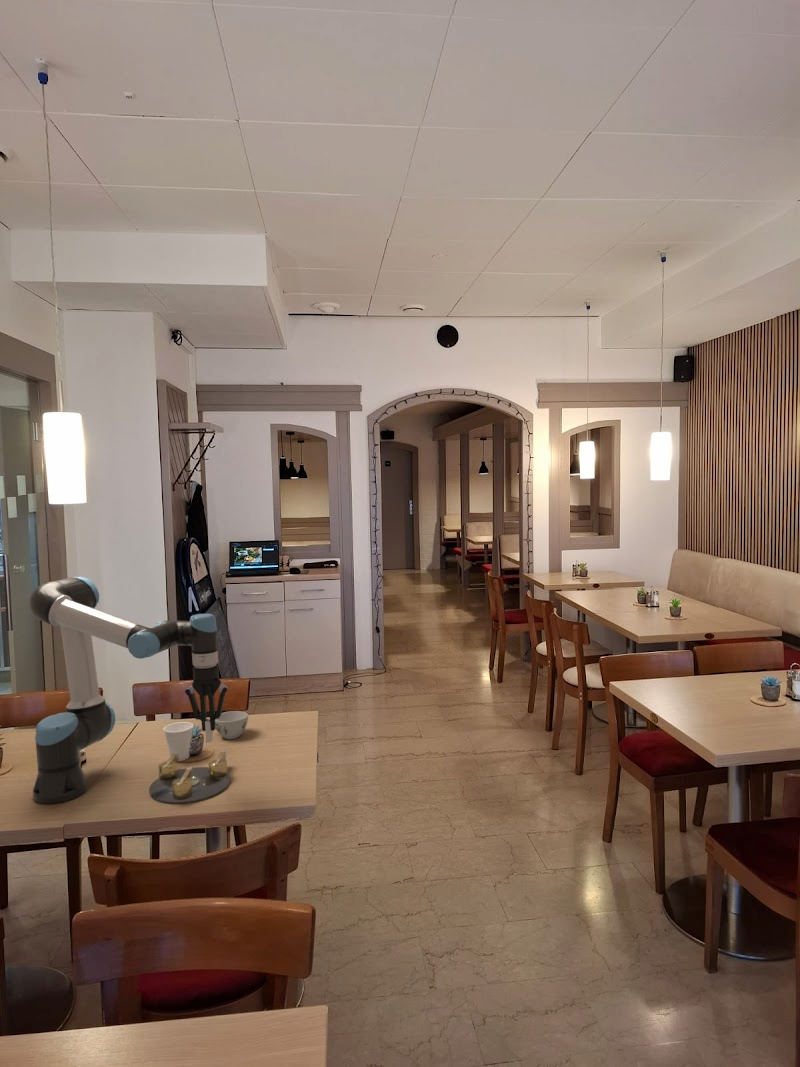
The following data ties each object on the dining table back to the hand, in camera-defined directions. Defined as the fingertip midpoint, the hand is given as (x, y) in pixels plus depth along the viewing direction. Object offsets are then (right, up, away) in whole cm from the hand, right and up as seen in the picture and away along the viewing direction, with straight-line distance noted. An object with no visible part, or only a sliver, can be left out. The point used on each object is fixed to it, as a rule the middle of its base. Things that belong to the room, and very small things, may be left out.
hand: (209, 740), depth 216 cm
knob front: (-7, -14, -2) cm, 16 cm away
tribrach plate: (-7, -15, +3) cm, 17 cm away
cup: (-17, -14, +26) cm, 34 cm away
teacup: (-5, -12, +45) cm, 47 cm away
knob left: (-15, -13, +11) cm, 23 cm away
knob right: (0, -13, +12) cm, 18 cm away
